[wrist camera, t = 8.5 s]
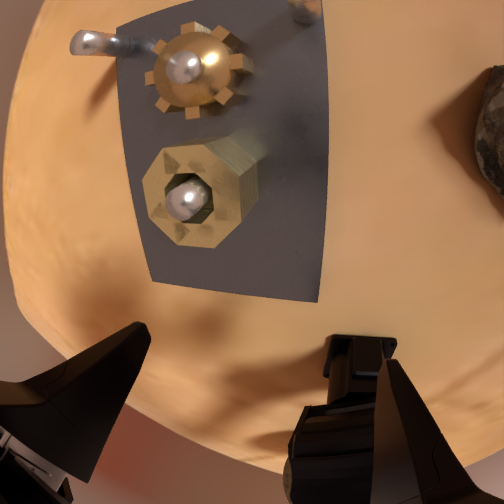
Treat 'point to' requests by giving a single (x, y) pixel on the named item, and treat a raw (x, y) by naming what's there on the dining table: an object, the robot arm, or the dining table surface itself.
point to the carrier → (230, 133)
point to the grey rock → (491, 131)
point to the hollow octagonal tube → (215, 175)
